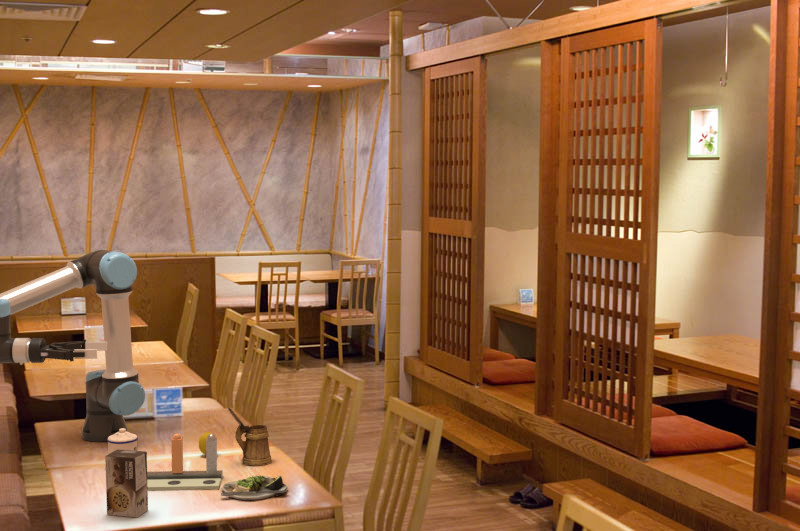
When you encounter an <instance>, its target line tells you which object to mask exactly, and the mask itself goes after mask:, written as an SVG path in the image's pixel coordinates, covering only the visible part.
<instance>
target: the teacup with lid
mask: <svg viewBox="0 0 800 531" xmlns="http://www.w3.org/2000/svg"><path fill="white" fill-rule="evenodd" d="M138 438H139V437H138V436H137V434H135V433H132V432H129V431H128V432H127V431H126V429H125V428H121V429H119V432H117V433H115V434H114V435H111V436H109V437H108V439H107V441H106V442H107V455H108V454H110V453H112V452H113V451H115V450H132V451H138V440H139V439H138Z"/></svg>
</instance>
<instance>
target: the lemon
mask: <svg viewBox="0 0 800 531" xmlns="http://www.w3.org/2000/svg"><path fill="white" fill-rule="evenodd" d="M209 434H213V433H212V432H209V431H205V432H204V433H202V434H201V435H200V437H199V440H198V447H199V448H198V449H199V451H200V452H201V453H202V454H203V455H205V456H206V440H207V437H208V435H209Z"/></svg>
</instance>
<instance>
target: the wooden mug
mask: <svg viewBox="0 0 800 531" xmlns="http://www.w3.org/2000/svg"><path fill="white" fill-rule="evenodd" d="M227 410H228V411H229V413H230V414H231V416H232V417H233V419H234V420H235V421H236V422H237V424H238V426H237V427H236V431H235V439H236V440H235V441H236V443H237V444H238V446H239V447H240V448H241V450H242V455H243V456H242V458H241V459H242V460H241V462H242V464H244V465H247V466H250V467H251V466H252V467H260V466H265V465H266V466H267V465H269V464H271V463H272V460H273V459H272V456H271V451H270V445H269V431H268V430H267V426H266V425H263V424H254V425H250V426H249V425H247V424H246V425H245V424H244V423H243V421H242V419H241V418H239V417H238V415H237V414H236V413H235V412H234V411H233V409H232V408H230V407H228V408H227ZM243 434H244V438H245V440H243V439H242V435H243Z"/></svg>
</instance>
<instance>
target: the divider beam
mask: <svg viewBox="0 0 800 531" xmlns="http://www.w3.org/2000/svg"><path fill="white" fill-rule="evenodd" d="M205 456H206V457H205V459H206V467H205V468H206V470H183V471H182V473H172V470H170V471H169V470H168V471H167V470H165V471H164V470H161V471H160V470H159V471H147V480H156V479H212V478H221V481H222V480H223V477H224V476H223V473H224V472H223V470H220V469H219V470H218V438H217V437H216V435H215V434H213V433H212V434H209V435H208V437H207V440H206V455H205Z"/></svg>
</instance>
